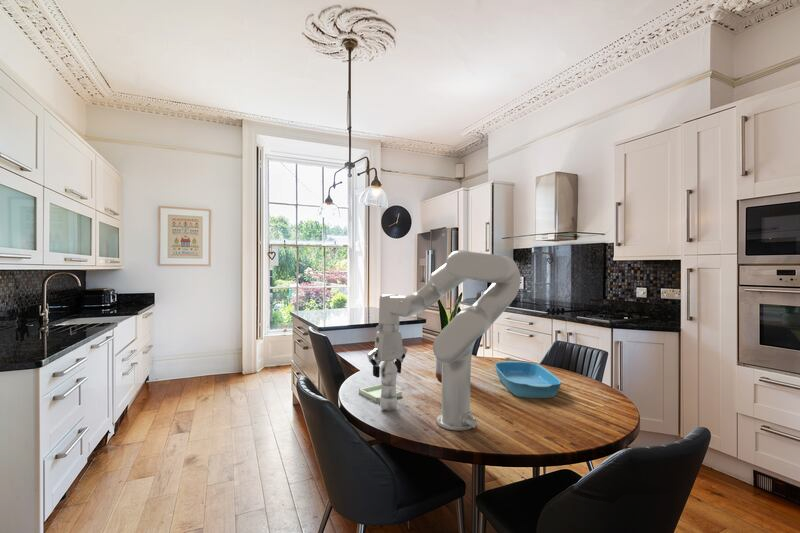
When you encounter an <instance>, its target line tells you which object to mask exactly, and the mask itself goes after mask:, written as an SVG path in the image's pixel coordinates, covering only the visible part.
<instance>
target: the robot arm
mask: <svg viewBox="0 0 800 533" xmlns="http://www.w3.org/2000/svg"><path fill="white" fill-rule="evenodd" d="M445 261H446V262H445V263H444V264H443V265H441V266H440V267H438V268H437V269H436V270H435V271H433V272H431V274H430V276H429V280H428V281H427V283H426V284H424V286H423V287H421V288H420V289H419V290H417V291H416V292H414V293H413V294H407V295H399V294H395V293H384V294H383V293H382V294H381V295H380V296H379V303H378V305H379V306H378V325H376V327H375V329H376V330H377V331H376V335H375V338H374V339H375V341H374V346H373V347H374V349H373V350H371V351H370V352H369V353H367V355H366V356H367V359H368V361H369V363H371V365H372V376H373V377H376V378H378V379H379V378H381V373H380V368H381V366H379V365H380V364H381V362H384V361H388V360H393V361H394V363H395V364H396V366H397V374H401V373H402V363H403V362H404V360H405V357H406V355H407V352H408V349H407V348H405V347H404V346H403V337H402V333H401V332H402V331H400V317H401V318H402V317H403V318H408V317H412V316H415V315H419V314H421V313H423V312H424V311H426V310H428V309H429V308H430V307H432V306H433V305H434V304H436V303H437V302H438V301H439V300H441V299H442V298H443V297H445V295H447V294H448V293H450V292H451V291H452V290H454V289H455V288H457V287H458V286H459V285H461V284H462V283H464V282H465V281H467V280H473V281H479V282H484V283H485V282H486V283H491V284H490V285H489V287H488V288H487V289H486V290H485V291H483V293H482V294H481V296H480V297H479V298H478V299H477V300H476V301H475V302H474V303H473V304H471V306H468V307H466V308H464V309H462V310H460V311H459V312H457V314H456V315H455V316H454V317H453V318H451V320H450V321H449V322H448V324H447V325H445V327H444V328H443V329H442V330H441V332H439V334H437V336H436V337H435V339H434V341H433V343H432V352H433V355H434V356H435V358H436V359H437V360H438V361H440V362H441V363H442V364H441V414H439V415H438V416H437V417H436V423H437V425H438V426H439V427H441V428H443V429H446V430H451V431H467V430H470V429H472V428H476V426H477V424H478V423H479V419H478V418H475V417H473V411H471V369H472V367H471V366H472V356H473V344H474V343H475V342H476V341H477V340H478V339H479V338H480V337H481V336H482V335H484V334H486V333H487V332H488V331H489V330H490V328H491V327H492V325H493V324H494V323H495V321H496V320H498V319H499V317H500V316H501V315H502V314H503V313H504V312H505V311H506V309H508V307H509V306H510V305H511V304H512V302H513V301H514V300H515V299H516V297H517V295H518V293H519V290H520V288H521V280H522V279H521V277H522V276H521V272H520V270H519V267H518V265H517V263H516V262H515V261H514V260H513V258H511V257H509V256H507V255H501V254H495V253H494V254H490V253H482V252H475V251H474V252H473V251H470V250H463V249H462V250H461V249H460V250H454V251H452V252H451V253H450V254H449V255H448V256H447V259H446V260H445Z"/></svg>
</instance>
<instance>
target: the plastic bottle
mask: <svg viewBox="0 0 800 533" xmlns="http://www.w3.org/2000/svg"><path fill="white" fill-rule="evenodd" d="M397 376H398V373H397V366H396V364H395V360H388V361H383V363H382V364H381V366H380V378H381V379H380V380H381V383H380V384H382V390H381V398H380V403H379V406H380V408H381V409H382V410H383V411H387V412H391V411H394V410H396V409H397V406H398V398H397V396H396V389H397Z"/></svg>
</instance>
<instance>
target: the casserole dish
mask: <svg viewBox="0 0 800 533" xmlns="http://www.w3.org/2000/svg"><path fill="white" fill-rule="evenodd" d="M494 367H495V371H496V374H497V377H498V378H499V380H500V381H501V383H502V384H503V385H504V386H505V388H506V389H507V391H509V392H510V393H511V394H512V395H514V396H516V397H518V398H523V399H549V398H550V399H551V398H553V397H555V396H556V395H557V394H558V392H559V390H560V387H561V385H562V380H561V379H560V378H559V377H557V376H556V375H555V374H553V373H552V372H550V371H549V370H548V369H547V368H545V367H544V366H542V365H540V364H538V363H533V362H529V361H527V362H526V361H520V360H506V361H499V362H496V363H494Z"/></svg>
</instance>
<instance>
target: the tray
mask: <svg viewBox="0 0 800 533" xmlns="http://www.w3.org/2000/svg"><path fill="white" fill-rule="evenodd" d="M381 390H382V383H378V384H376V385H371V386H367V387H362V388H358V395H360V396H362V397H364V398H366V399H368V400H369V401H372V402H374V403H376V404H380V398H381ZM402 394H403V392H402V391H401V390H399V389H397V388H396V396H397V399H398V398H402V397H403V395H402Z"/></svg>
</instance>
